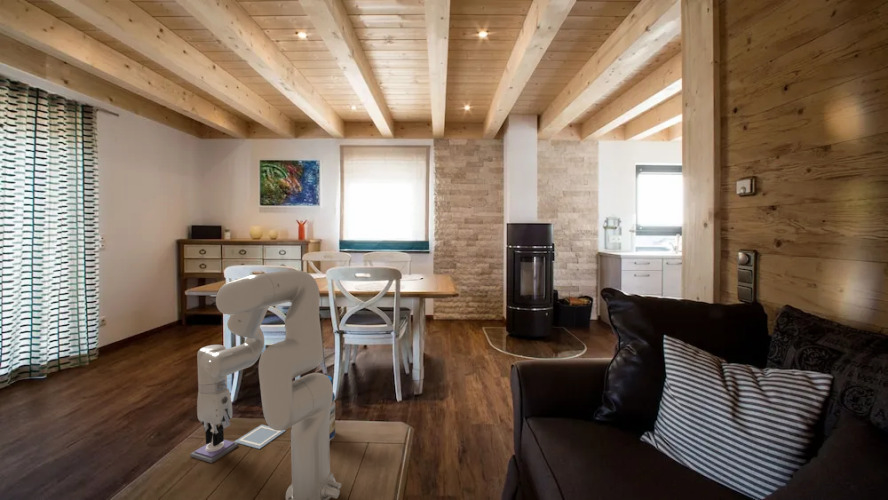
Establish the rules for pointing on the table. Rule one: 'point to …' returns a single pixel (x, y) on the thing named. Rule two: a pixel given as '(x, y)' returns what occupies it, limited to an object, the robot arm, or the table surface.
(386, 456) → the table surface
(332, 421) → the beverage bottle
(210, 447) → the chess piece
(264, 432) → the pale blue flat square
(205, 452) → the ink pad
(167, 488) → the table surface
